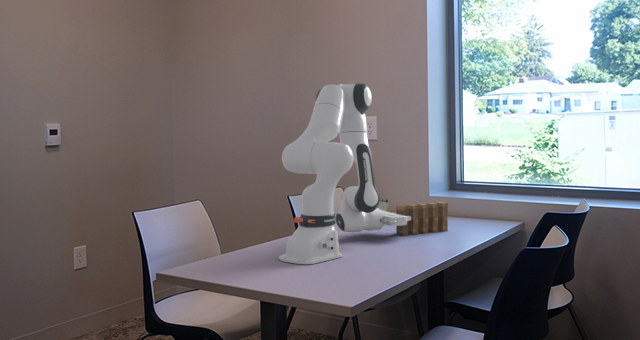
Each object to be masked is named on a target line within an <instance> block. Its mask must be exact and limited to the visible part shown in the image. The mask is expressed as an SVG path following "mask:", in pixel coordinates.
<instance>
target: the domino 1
mask: <svg viewBox="0 0 640 340" xmlns="http://www.w3.org/2000/svg"><path fill="white" fill-rule="evenodd" d="M395 208H396V210H395V211H396V212H395V213H396V214H399V215H403V216H408V206H406V205H404V204H396V207H395ZM395 227H396V228H395V229H396V230H395V231H396V235H400V236H403V237H404V235H406V236H409V233H408V221H407V224H406V225H402V226H395Z"/></svg>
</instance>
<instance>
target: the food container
mask: <svg viewBox="0 0 640 340" xmlns="http://www.w3.org/2000/svg"><path fill="white" fill-rule="evenodd" d="M389 204H390V199H389V197H388V198H387V197H380V203H379V205H378V207H377V208H379V209H380V210H383V211H387V212H389V211H388V209H389Z"/></svg>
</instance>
